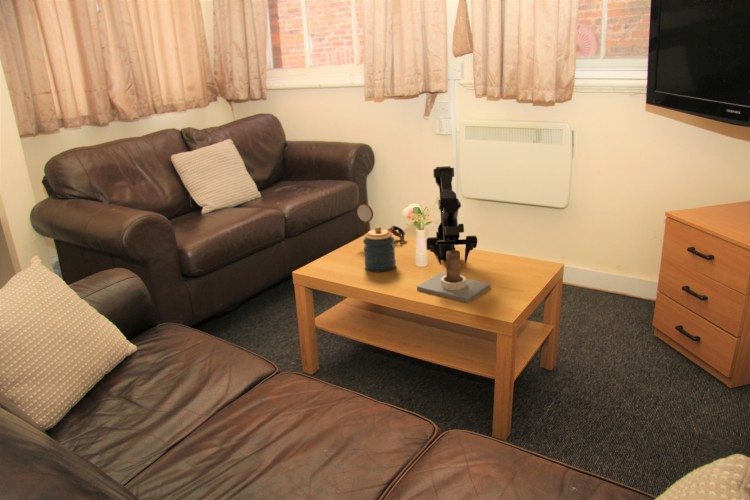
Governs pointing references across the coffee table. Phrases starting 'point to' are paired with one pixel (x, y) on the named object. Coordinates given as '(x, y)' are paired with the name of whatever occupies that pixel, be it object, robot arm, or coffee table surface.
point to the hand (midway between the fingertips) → (453, 263)
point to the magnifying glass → (365, 214)
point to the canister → (379, 250)
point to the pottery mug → (399, 233)
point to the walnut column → (453, 266)
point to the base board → (454, 294)
